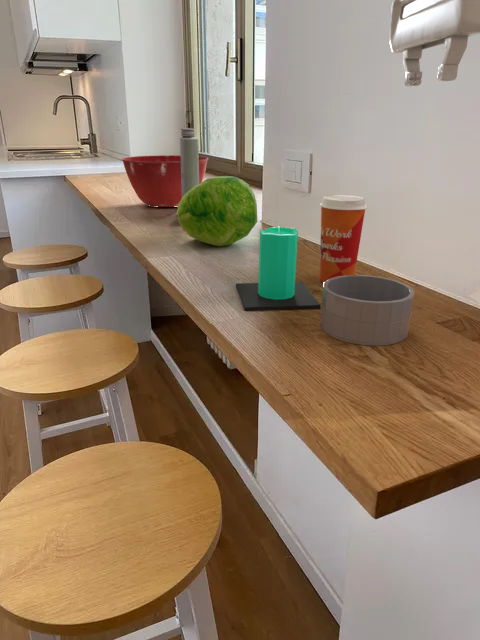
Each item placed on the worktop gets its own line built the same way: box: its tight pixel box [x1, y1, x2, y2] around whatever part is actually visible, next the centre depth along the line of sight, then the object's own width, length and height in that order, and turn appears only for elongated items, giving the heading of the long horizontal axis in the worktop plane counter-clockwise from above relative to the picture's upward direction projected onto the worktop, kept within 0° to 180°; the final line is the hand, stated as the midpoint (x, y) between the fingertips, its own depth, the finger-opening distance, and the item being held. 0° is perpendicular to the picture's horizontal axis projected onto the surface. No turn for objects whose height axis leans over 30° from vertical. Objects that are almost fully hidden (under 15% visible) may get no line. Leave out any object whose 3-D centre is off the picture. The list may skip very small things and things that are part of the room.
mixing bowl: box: [120, 154, 209, 207], centre depth 165 cm, size 28×28×16 cm
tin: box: [319, 274, 416, 347], centre depth 69 cm, size 12×12×6 cm
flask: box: [179, 127, 200, 198], centre depth 138 cm, size 17×5×25 cm, turn 7°
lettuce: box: [176, 175, 258, 247], centre depth 114 cm, size 17×20×17 cm
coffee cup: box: [319, 194, 368, 284], centre depth 88 cm, size 8×8×15 cm
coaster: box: [235, 281, 322, 312], centre depth 82 cm, size 12×12×1 cm
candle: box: [257, 220, 299, 300], centre depth 80 cm, size 6×6×12 cm
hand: (428, 83), depth 66 cm, fingers open, 8 cm apart
